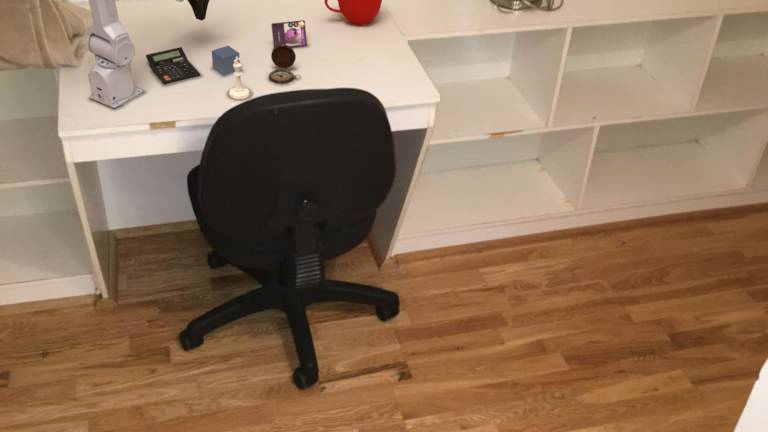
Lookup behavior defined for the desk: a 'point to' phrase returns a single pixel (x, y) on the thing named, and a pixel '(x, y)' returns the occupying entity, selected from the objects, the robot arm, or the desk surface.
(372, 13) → the ceramic cup
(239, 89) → the chess piece
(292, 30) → the purple printed box
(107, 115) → the desk surface
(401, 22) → the desk surface
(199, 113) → the desk surface
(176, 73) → the calculator
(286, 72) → the compass
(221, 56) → the slate block
